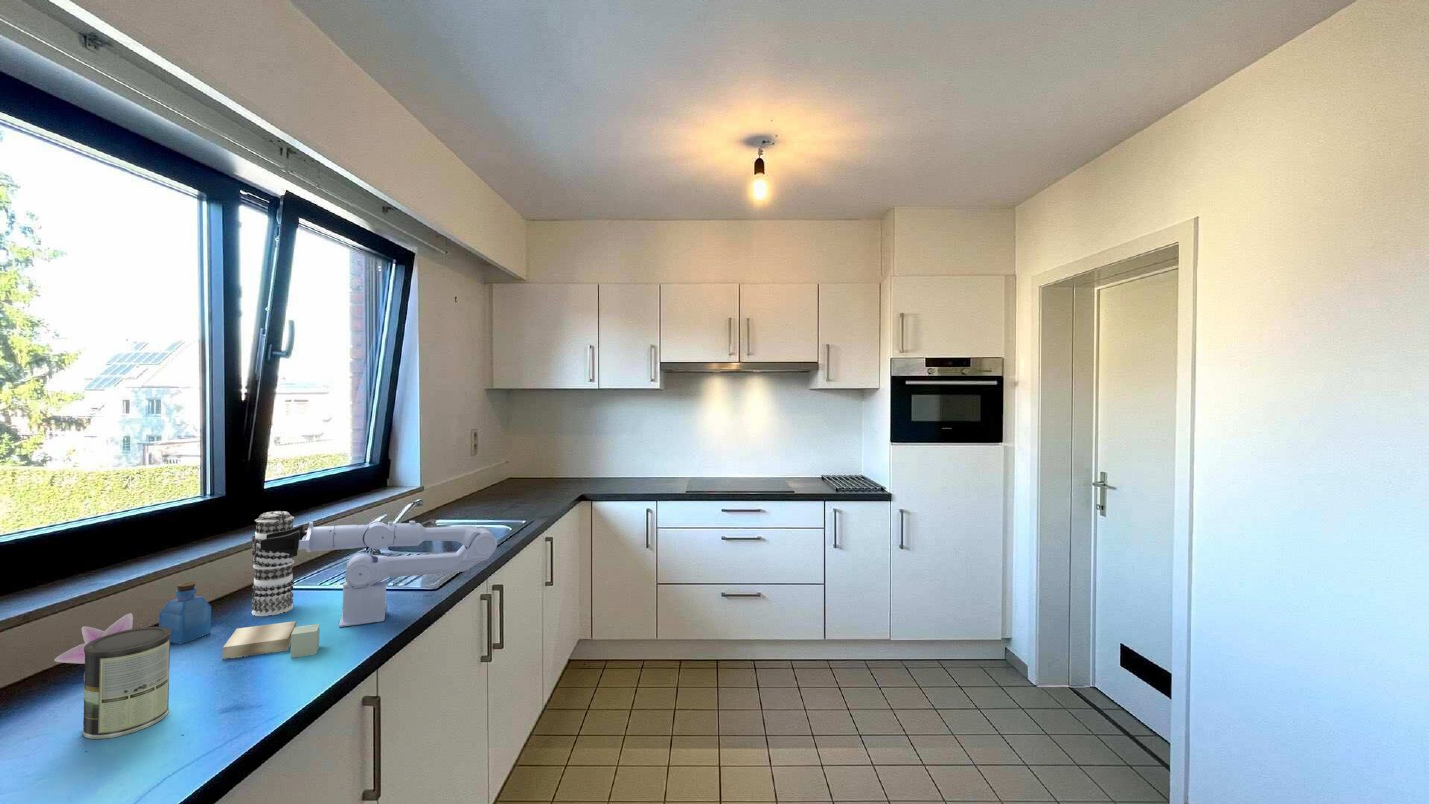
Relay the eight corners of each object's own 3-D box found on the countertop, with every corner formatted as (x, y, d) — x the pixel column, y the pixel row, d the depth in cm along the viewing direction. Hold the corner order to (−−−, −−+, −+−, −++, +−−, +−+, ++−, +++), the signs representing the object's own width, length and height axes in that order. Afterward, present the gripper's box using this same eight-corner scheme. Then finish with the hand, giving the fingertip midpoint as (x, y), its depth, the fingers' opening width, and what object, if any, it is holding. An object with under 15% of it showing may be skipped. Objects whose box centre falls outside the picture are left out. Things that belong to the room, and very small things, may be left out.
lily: (40, 692, 108) (49, 653, 106) (82, 644, 118) (92, 607, 116) (122, 699, 113) (133, 662, 111) (156, 652, 123) (166, 618, 121)
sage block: (319, 646, 128) (319, 623, 128) (316, 654, 124) (316, 631, 124) (294, 649, 126) (294, 627, 126) (290, 658, 122) (291, 634, 122)
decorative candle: (282, 616, 144) (284, 516, 144) (240, 617, 143) (243, 516, 143) (302, 603, 153) (304, 509, 153) (263, 604, 152) (266, 509, 152)
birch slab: (296, 633, 135) (296, 621, 135) (287, 652, 126) (287, 638, 126) (236, 641, 130) (236, 628, 130) (222, 661, 120) (222, 647, 120)
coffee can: (61, 740, 91) (64, 651, 91) (122, 706, 102) (124, 626, 102) (132, 739, 92) (134, 651, 92) (185, 705, 103) (187, 626, 103)
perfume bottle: (180, 644, 127) (182, 589, 127) (158, 641, 129) (160, 587, 129) (210, 633, 133) (211, 581, 133) (189, 630, 135) (190, 579, 135)
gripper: (336, 516, 147) (269, 519, 140) (332, 525, 134) (259, 529, 128) (335, 545, 147) (268, 549, 140) (331, 556, 134) (257, 561, 127)
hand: (263, 541), depth 134 cm, fingers open, 7 cm apart
